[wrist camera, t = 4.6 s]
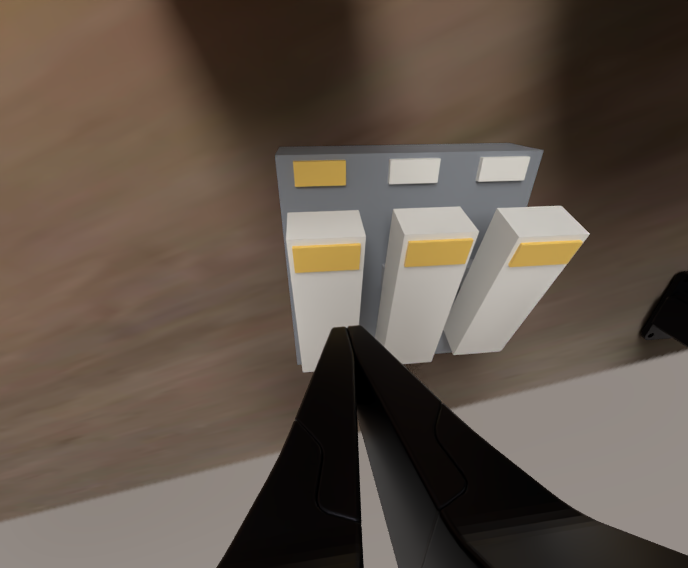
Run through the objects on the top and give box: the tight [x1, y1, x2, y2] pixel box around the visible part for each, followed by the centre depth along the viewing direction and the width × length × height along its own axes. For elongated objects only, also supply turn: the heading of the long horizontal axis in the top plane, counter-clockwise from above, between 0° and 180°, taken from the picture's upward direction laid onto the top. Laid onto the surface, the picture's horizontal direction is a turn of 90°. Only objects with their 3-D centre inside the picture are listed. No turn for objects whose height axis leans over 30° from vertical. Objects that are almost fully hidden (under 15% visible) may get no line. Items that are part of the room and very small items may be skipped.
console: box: [275, 143, 544, 365], centre depth 19 cm, size 13×13×4 cm
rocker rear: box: [443, 206, 590, 355], centre depth 16 cm, size 3×9×2 cm, turn 0°
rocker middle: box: [375, 206, 479, 364], centre depth 16 cm, size 3×9×2 cm, turn 0°
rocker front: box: [286, 210, 366, 372], centre depth 15 cm, size 3×9×2 cm, turn 0°
